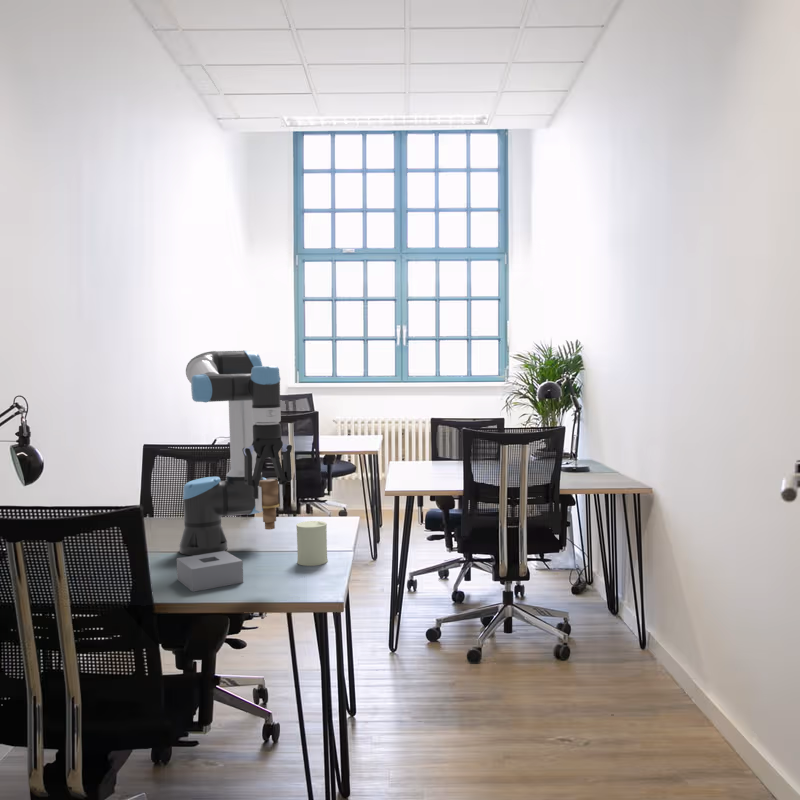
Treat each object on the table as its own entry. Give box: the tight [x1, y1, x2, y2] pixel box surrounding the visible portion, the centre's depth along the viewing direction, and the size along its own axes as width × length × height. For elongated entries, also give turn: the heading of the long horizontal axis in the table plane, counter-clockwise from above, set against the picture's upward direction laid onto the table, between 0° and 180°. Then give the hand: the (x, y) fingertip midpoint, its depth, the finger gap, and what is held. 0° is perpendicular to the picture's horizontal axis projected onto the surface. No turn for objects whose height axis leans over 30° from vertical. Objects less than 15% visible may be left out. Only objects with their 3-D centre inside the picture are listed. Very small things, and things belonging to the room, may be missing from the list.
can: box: [296, 520, 329, 567], centre depth 222 cm, size 9×9×12 cm
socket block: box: [176, 550, 244, 593], centre depth 204 cm, size 14×14×6 cm
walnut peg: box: [259, 478, 279, 530], centre depth 199 cm, size 5×5×13 cm
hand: (269, 508), depth 199 cm, fingers closed on walnut peg, 5 cm apart
